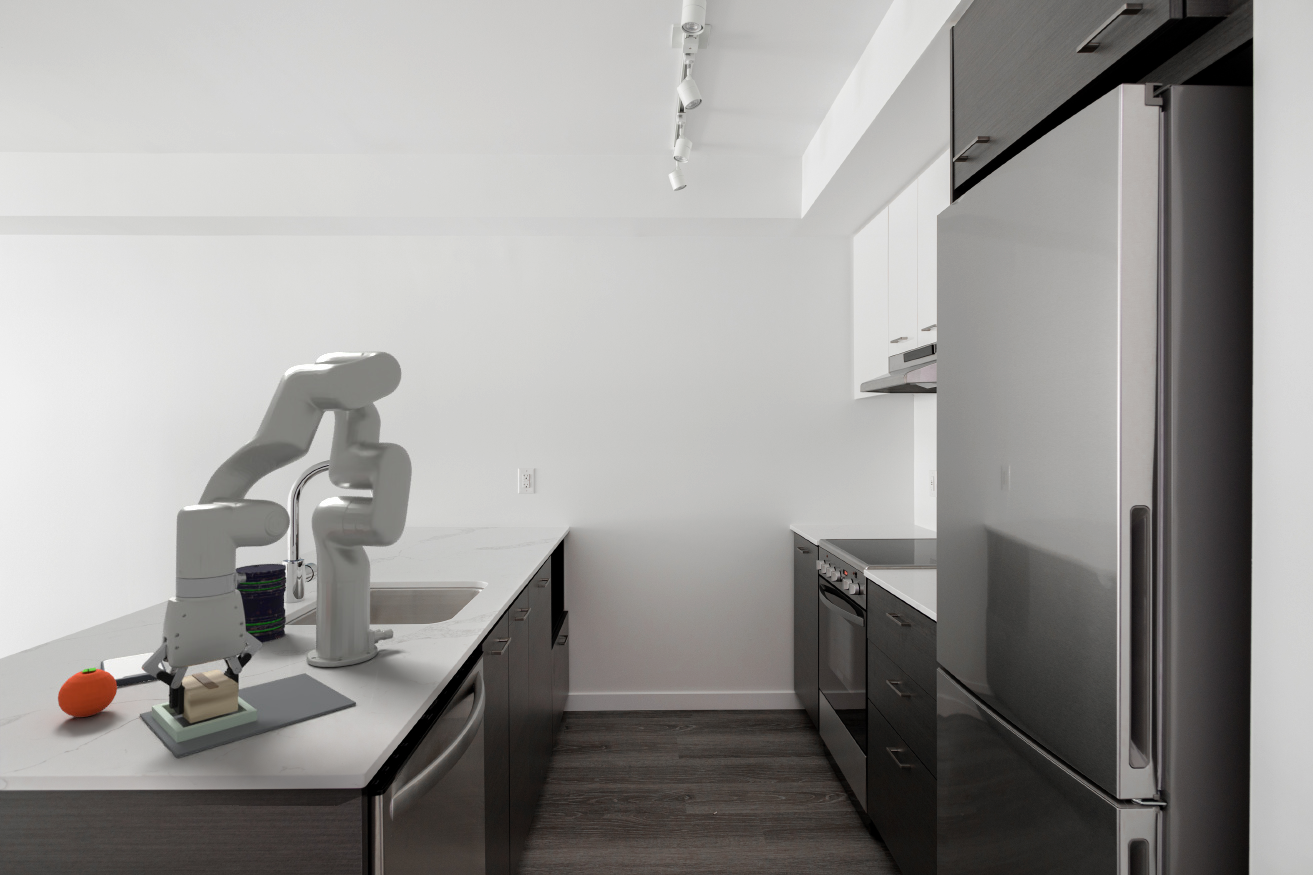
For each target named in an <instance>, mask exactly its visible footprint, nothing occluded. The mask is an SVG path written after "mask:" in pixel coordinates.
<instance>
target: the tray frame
mask: <svg viewBox="0 0 1313 875" xmlns="http://www.w3.org/2000/svg"><path fill="white" fill-rule="evenodd" d="M151 711H152V717H153V718H154V719H155V720H156V721H157V722H158V723H159V724H160V725H161V726H162V728H163V729H164V730H165V731H166V732H167V733H168V734H169V735H170V736H171V737H172V738H173V739H174V740H175V741H176V743H178V742H182V741H185V740H189V739H193V738H196V737H200V736H203V735H207V734H210V733H214V732H217V731H221V730H224V729H228V728H231V727H235V726H238V725H242V724H245V723H249V722H253V721H256V720H257V710H256V709H255V708H253V707H252V706H251V705H249V704H248V703H247V702H245V701H244V700H243V699H241V698H240V697H239V696H238V711H236V712H237V713H236V714H232V715H229V716H225V717H221V718H218V719H214V720H210V721H207V722H203V723H199V724H195V725H192V726H188V727H184V728H183V727H182V726H181V725H180V724H179V723H178V722H177V721H176V720H175V719H174V718H173V717H172V716H171V715H170V713H174V712H175V711H174V710H173V709H170V707H169V701H167V702H163V703H159V704H154V705H152V706H151Z"/></svg>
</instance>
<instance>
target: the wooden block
mask: <svg viewBox="0 0 1313 875" xmlns="http://www.w3.org/2000/svg"><path fill="white" fill-rule="evenodd" d="M224 673H225V672H222V670H220V669H218V668H217V669H212V670H208V671H204V672H203V671H202V672H198V673H193V674H190V675H186V676H184V678H183V680H182V685H183V686H184V687H185V689H184V713H183V714H181V715H182V716H183V717H185V718H186V719H187V720H188V721H189V722H190V723H193V722H197V721H201V720H204V719H208V718H212V717H215V716H219V715H223V714H227V713H230V712H234V711H238V683H236V682H235V681H234V680H232V679H230V678H228V677H227V676H226V675H224Z"/></svg>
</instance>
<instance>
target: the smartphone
mask: <svg viewBox="0 0 1313 875" xmlns="http://www.w3.org/2000/svg"><path fill="white" fill-rule="evenodd" d="M155 652H156V651H155ZM155 652H154V651H153V652H145V653H141V654H140V653H139V654H134V655H133V654H132V655H128V656H127V655H126V656H121V657H114V658H109V659H104V660H102V661H100V669H101V670H104V671H106V672H108V673H110V674H111V675H112V676H113V677H114V679H115V680H116V683H117V686H119V687H123V686H122V685H124V686H129V685H128V684H130V685H134V684H133V683H135V684H140V683H139V682H141V683H144V682H143V681H146V682H149V681H148V680H151V681H155V680H154V679H157V678H156V677H154V676H152V675H150V674H148V673H147V672H145V671H144V670H143V669H142V665H143V664H144V663H145V662H146V661H147V660H148V659H149V658H150V657H151V656H152V655H153V654H154V653H155ZM158 667H159V668H161V669H163V670H165V671H166V672H167V669H166V666H165V665H164V663H163V660H162V661H161V662H160V663H159V665H158ZM157 680H158V679H157Z"/></svg>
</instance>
